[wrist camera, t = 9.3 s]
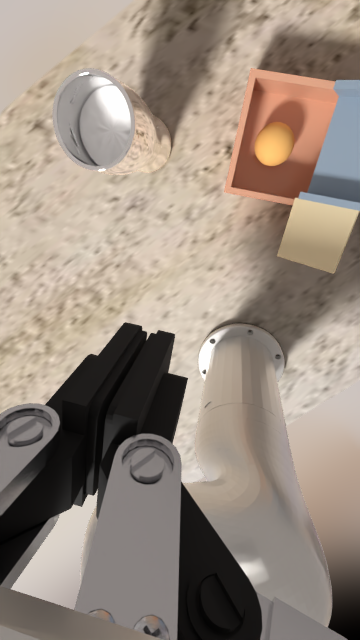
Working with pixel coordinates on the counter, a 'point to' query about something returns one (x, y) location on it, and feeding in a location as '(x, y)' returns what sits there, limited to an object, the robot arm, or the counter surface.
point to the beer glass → (108, 125)
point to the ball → (274, 144)
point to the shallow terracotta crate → (293, 110)
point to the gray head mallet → (329, 191)
